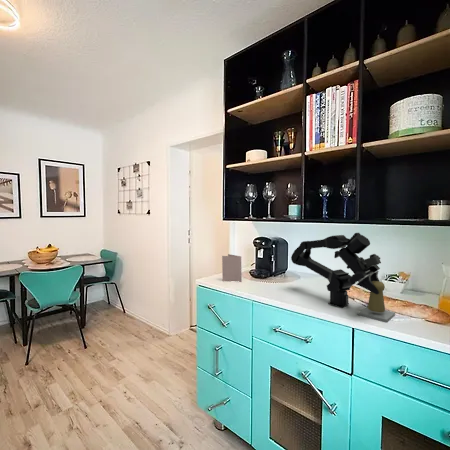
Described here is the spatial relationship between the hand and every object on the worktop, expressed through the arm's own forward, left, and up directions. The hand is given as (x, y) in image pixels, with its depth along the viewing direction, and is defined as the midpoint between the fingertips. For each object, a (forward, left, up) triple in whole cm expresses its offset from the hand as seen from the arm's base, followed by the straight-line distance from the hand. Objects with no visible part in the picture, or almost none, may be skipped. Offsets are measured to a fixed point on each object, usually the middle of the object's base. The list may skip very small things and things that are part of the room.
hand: (380, 292), depth 103 cm
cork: (-1, 0, -7) cm, 7 cm away
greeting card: (-78, -5, -10) cm, 79 cm away
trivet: (-1, 0, -9) cm, 9 cm away
